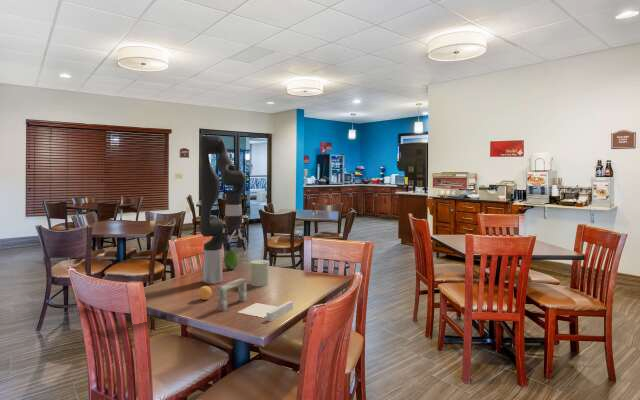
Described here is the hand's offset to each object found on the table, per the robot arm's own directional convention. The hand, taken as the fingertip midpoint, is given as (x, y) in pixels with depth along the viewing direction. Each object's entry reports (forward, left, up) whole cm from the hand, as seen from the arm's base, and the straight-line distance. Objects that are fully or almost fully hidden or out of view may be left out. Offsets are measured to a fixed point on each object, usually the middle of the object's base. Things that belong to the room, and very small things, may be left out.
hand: (233, 249), depth 180 cm
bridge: (+9, -11, -22) cm, 26 cm away
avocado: (-34, +39, -22) cm, 56 cm away
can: (0, +21, -22) cm, 30 cm away
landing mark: (+23, -11, -22) cm, 33 cm away
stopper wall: (+33, -11, -22) cm, 41 cm away
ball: (-7, -11, -19) cm, 23 cm away
